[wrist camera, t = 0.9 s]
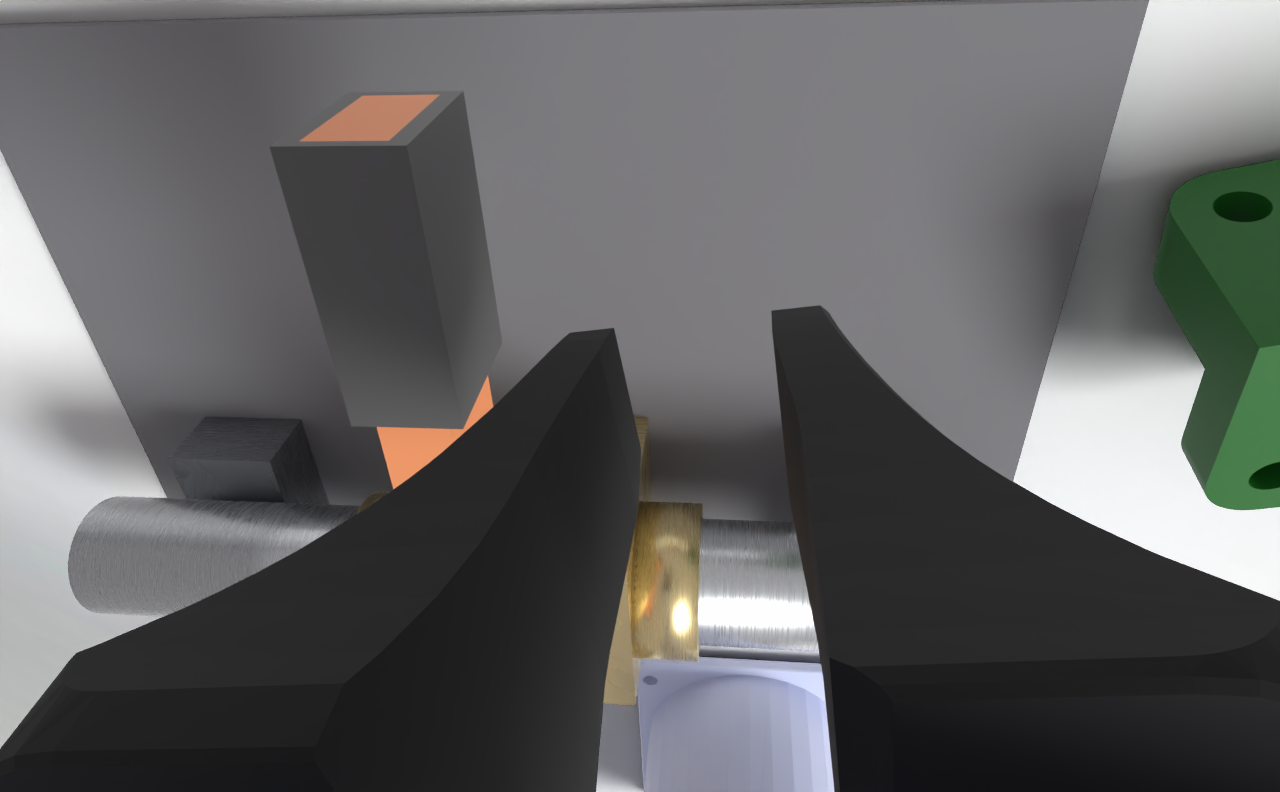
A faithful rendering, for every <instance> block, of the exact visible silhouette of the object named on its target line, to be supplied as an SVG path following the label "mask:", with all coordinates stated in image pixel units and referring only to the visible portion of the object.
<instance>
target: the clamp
mask: <svg viewBox="0 0 1280 792" xmlns="http://www.w3.org/2000/svg"><path fill="white" fill-rule="evenodd" d="M1154 281H1155V284H1156V286H1157V287H1158V289H1159V291H1160V293H1161V294H1162V296H1163V298H1164V299H1165V301H1166V303H1167V305H1168V306H1169V308H1170V310H1171V311H1172V313H1173V315H1174V316H1175V318H1176V320H1177V322H1178V323H1179V325H1180V327H1181V328H1182V330H1183V332H1184V334H1185V335H1186V337H1187V339H1188V340H1189V342H1190V344H1191V345H1192V347H1193V349H1194V351H1195V352H1196V354H1197V356H1198V357H1199V359H1200V361H1201V362H1202V364H1203V366H1204V368H1205V371H1204V374H1203V377H1202V380H1201V383H1200V386H1199V389H1198V392H1197V395H1196V398H1195V401H1194V404H1193V407H1192V410H1191V413H1190V416H1189V419H1188V422H1187V425H1186V428H1185V431H1184V434H1183V437H1182V441H1181V446H1182V449H1183V452H1184V454H1185V455H1186V457H1187V459H1188V461H1189V463H1190V465H1191V467H1192V469H1193V471H1194V473H1195V475H1196V477H1197V479H1198V481H1199V483H1200V485H1201V487H1202V489H1203V490H1204V492H1205V494H1206V496H1207V498H1208V499H1209V500H1210V501H1211V502H1212V503H1214V504H1215V505H1217V506H1220V507H1223V508H1227V509H1234V510H1254V509H1264V508H1273V507H1280V159H1279V160H1274V161H1269V162H1264V163H1258V164H1253V165H1248V166H1243V167H1237V168H1232V169H1227V170H1221V171H1216V172H1212V173H1208V174H1204V175H1201V176H1198V177H1196V178H1193V179H1191V180H1189V181H1188V182H1186V183H1184V184H1183V185H1182V186H1180V187H1179V188H1178V189H1177V190H1176V191H1175V193H1174V194H1173V196H1172V198H1171V201H1170V205H1169V209H1168V213H1167V218H1166V222H1165V226H1164V230H1163V235H1162V239H1161V243H1160V247H1159V251H1158V256H1157V260H1156V264H1155V268H1154Z"/></svg>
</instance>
